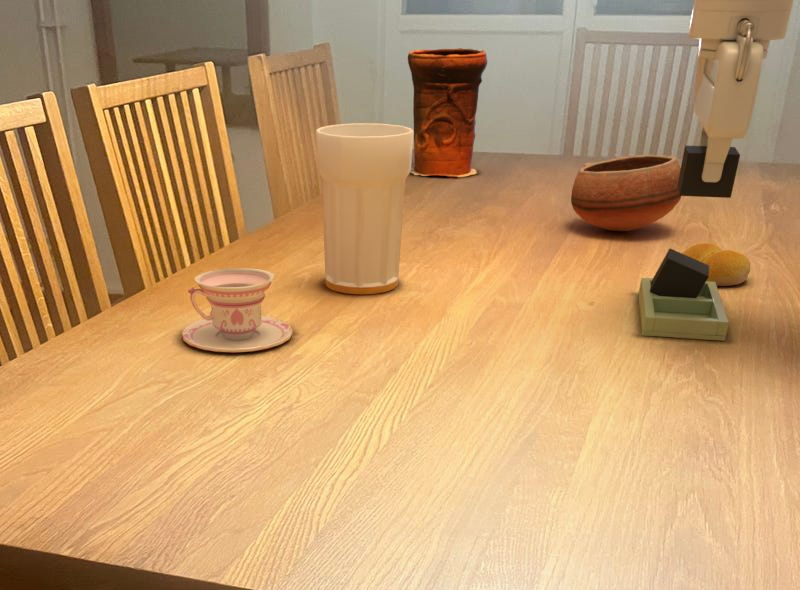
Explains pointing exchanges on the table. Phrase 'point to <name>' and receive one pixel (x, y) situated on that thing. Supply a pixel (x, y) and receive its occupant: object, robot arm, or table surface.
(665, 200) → the bowl
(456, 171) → the vessel
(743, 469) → the table surface
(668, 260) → the pad
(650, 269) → the table surface
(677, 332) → the frame
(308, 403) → the table surface
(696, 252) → the bread roll
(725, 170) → the black block
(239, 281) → the teacup
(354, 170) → the cup
